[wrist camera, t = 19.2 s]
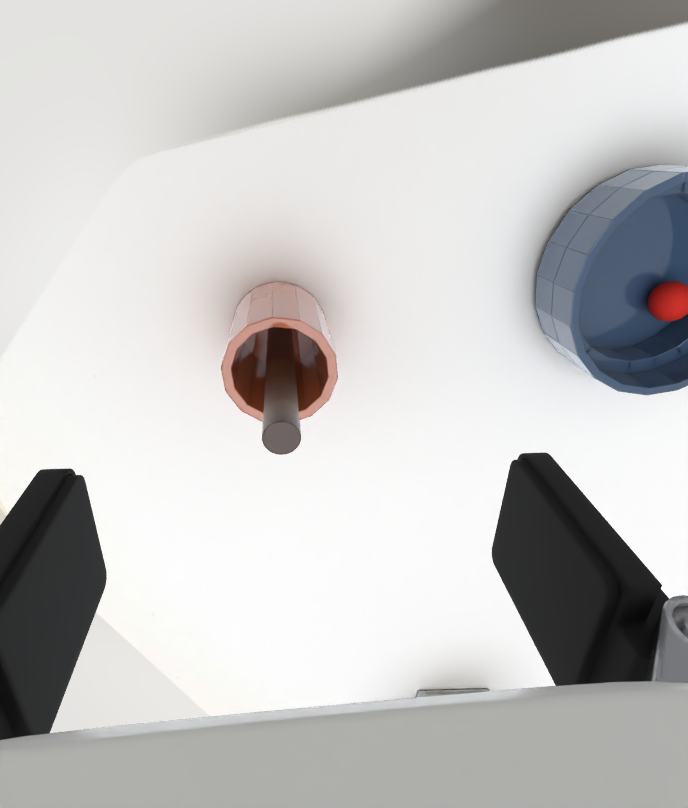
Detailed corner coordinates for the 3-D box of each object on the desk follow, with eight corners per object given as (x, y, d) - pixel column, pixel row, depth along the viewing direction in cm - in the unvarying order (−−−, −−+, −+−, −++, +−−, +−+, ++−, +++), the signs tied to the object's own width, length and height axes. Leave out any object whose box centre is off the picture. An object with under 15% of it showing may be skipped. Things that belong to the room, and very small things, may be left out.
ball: (650, 274, 40) (695, 271, 38) (658, 301, 42) (702, 299, 39) (637, 302, 39) (682, 301, 37) (646, 329, 41) (690, 329, 38)
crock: (213, 327, 38) (196, 375, 30) (279, 260, 37) (279, 292, 29) (280, 385, 41) (281, 443, 33) (344, 325, 39) (361, 371, 31)
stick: (262, 330, 38) (254, 440, 24) (279, 313, 38) (280, 414, 23) (280, 346, 39) (282, 461, 25) (297, 329, 38) (309, 437, 24)
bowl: (494, 271, 39) (528, 291, 33) (669, 115, 35) (739, 109, 30) (592, 397, 45) (635, 431, 39) (750, 274, 41) (821, 293, 36)
